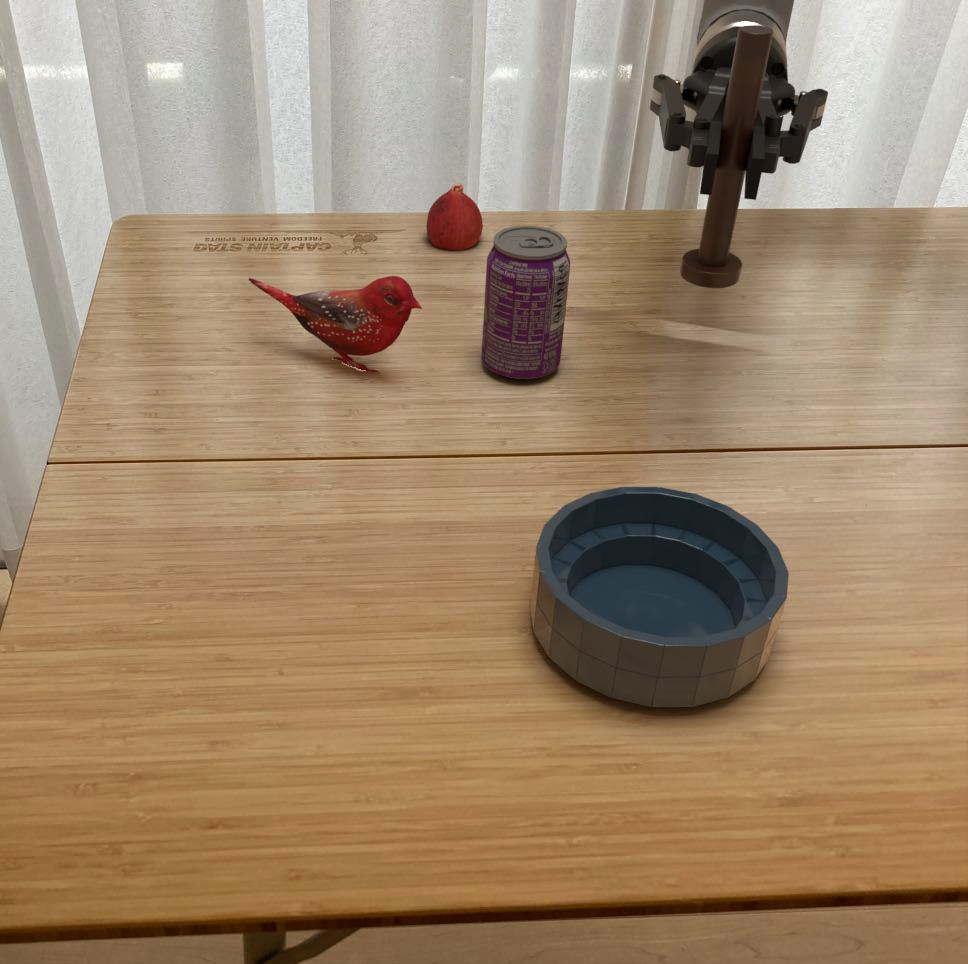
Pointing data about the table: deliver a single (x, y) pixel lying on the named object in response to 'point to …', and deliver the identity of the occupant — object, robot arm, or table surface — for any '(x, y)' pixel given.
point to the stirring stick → (730, 164)
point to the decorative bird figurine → (352, 315)
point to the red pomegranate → (454, 221)
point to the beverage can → (525, 302)
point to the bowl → (657, 595)
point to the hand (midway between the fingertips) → (731, 176)
